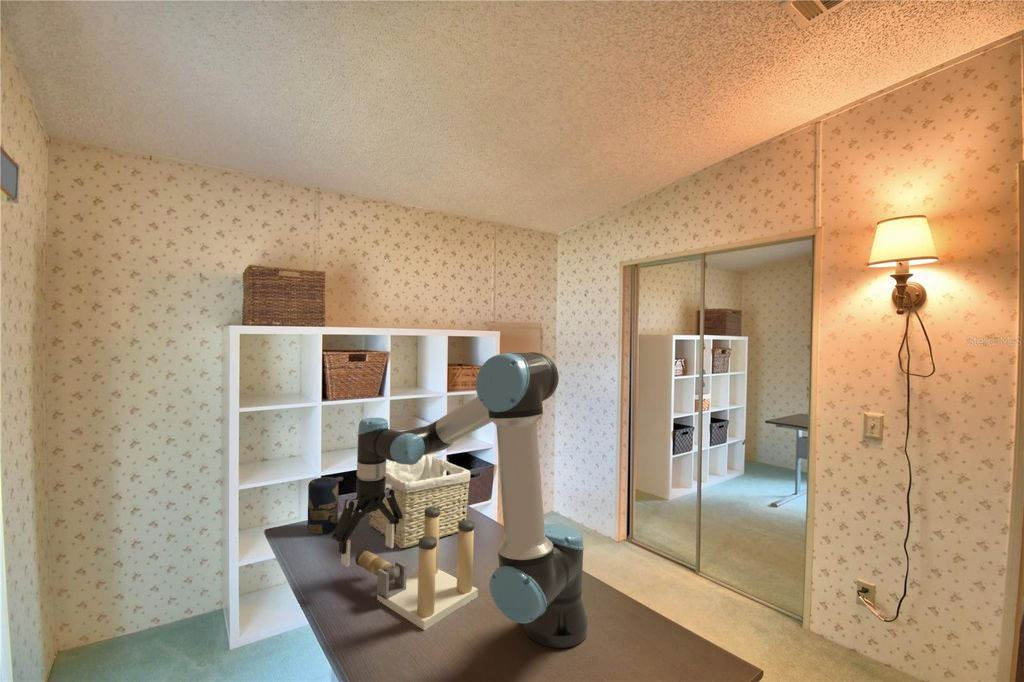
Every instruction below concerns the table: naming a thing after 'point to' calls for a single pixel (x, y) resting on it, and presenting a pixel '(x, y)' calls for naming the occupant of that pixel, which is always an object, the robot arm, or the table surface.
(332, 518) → the canister
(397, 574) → the hinged leg
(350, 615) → the table surface
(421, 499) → the basket
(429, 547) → the stool seat
